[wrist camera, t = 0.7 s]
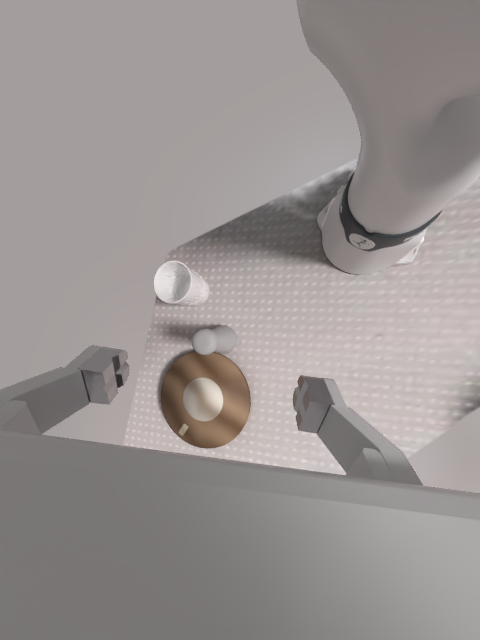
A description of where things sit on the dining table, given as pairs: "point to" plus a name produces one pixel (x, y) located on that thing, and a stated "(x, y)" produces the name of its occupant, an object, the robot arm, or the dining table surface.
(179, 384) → the turntable
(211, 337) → the salt shaker
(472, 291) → the dining table surface
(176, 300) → the white cup
